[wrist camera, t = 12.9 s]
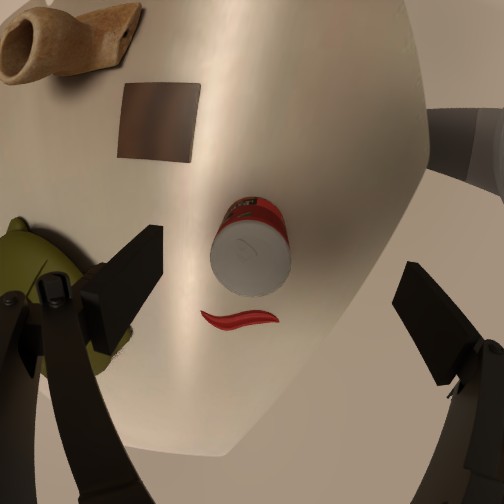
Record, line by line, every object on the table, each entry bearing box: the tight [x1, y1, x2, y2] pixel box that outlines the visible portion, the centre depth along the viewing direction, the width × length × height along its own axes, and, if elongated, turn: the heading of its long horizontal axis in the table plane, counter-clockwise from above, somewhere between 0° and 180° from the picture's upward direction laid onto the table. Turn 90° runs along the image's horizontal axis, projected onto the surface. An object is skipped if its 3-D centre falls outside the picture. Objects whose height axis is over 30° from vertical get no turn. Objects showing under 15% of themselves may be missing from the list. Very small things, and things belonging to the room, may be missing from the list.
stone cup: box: [0, 2, 142, 85], centre depth 21 cm, size 15×12×15 cm
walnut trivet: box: [117, 82, 201, 163], centre depth 32 cm, size 10×10×1 cm
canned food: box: [210, 197, 291, 297], centre depth 32 cm, size 8×8×11 cm
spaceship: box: [0, 218, 131, 378], centre depth 40 cm, size 35×31×10 cm
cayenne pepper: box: [201, 310, 279, 331], centre depth 42 cm, size 12×5×2 cm, turn 78°
